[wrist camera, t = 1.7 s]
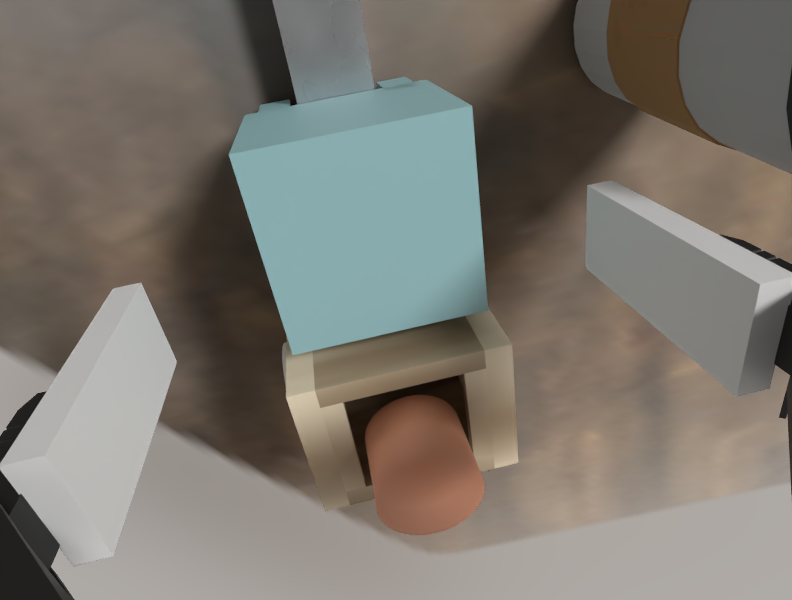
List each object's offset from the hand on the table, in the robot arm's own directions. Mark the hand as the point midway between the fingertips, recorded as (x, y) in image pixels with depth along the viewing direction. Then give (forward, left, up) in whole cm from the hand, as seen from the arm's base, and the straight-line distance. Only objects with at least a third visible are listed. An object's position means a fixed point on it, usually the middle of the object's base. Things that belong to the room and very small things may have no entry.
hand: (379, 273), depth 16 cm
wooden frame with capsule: (+7, 0, -10) cm, 12 cm away
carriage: (0, 0, -10) cm, 10 cm away
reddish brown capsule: (+7, 0, -1) cm, 7 cm away
